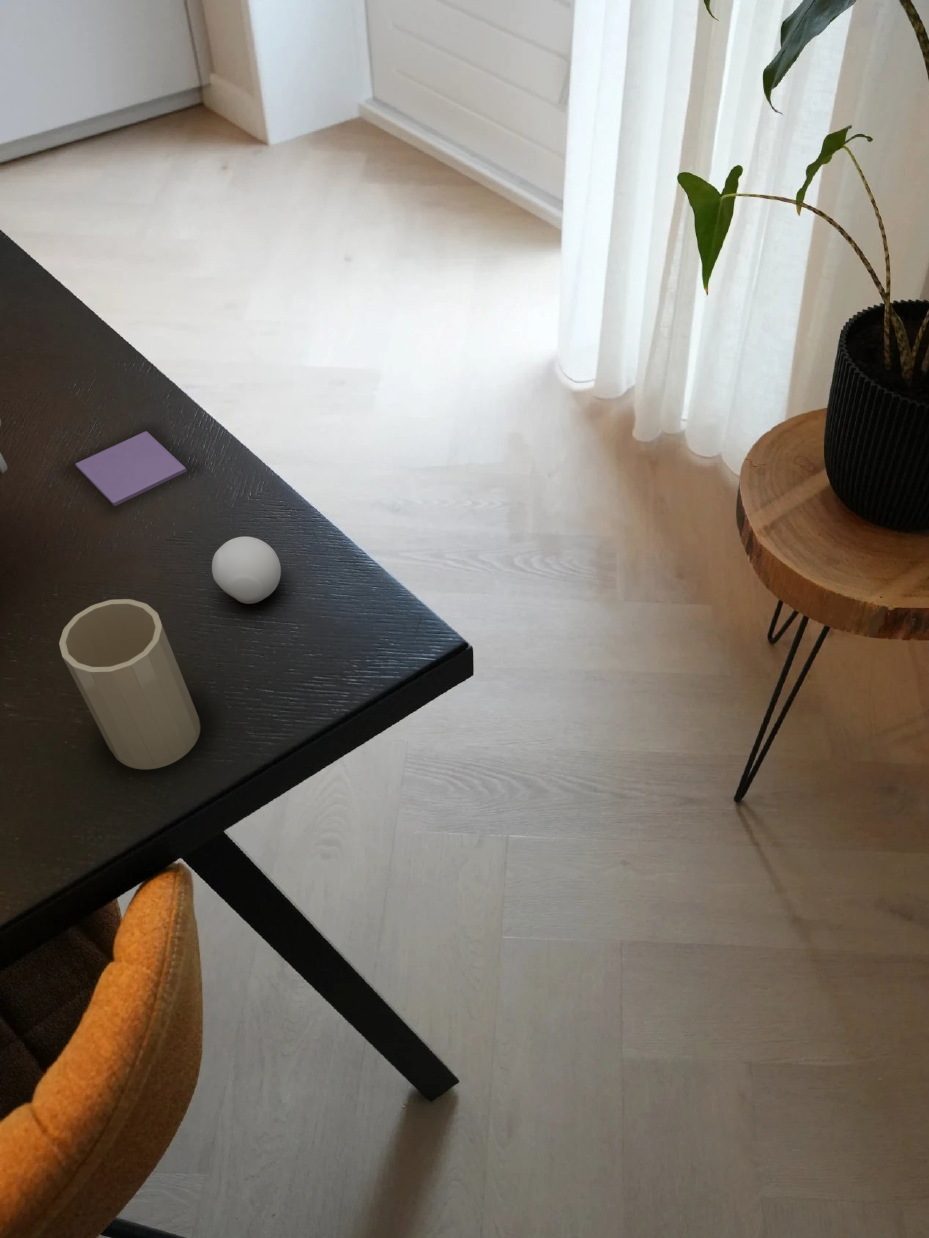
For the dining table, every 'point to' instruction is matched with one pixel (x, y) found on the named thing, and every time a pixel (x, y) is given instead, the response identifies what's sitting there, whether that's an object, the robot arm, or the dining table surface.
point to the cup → (131, 682)
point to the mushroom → (246, 569)
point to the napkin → (130, 468)
